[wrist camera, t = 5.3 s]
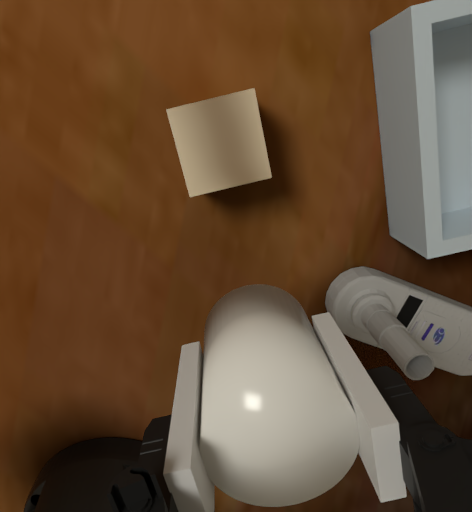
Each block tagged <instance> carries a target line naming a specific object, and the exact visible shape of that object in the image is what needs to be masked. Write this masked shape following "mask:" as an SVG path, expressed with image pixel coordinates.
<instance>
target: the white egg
mask: <svg viewBox="0 0 472 512" xmlns="http://www.w3.org/2000/svg"><path fill="white" fill-rule="evenodd" d="M359 446H360V438H359V432H358V425H357V418H356V415H355V412H354V410H353V408H352V406H351V404H350V402H349V400H348V398H347V396H346V394H345V392H344V390H343V388H342V386H341V384H340V382H339V380H338V378H337V376H336V374H335V372H334V370H333V368H332V366H331V364H330V362H329V360H328V358H327V356H326V354H325V352H324V350H323V348H322V346H321V344H320V342H319V340H318V338H317V336H316V334H315V332H314V330H313V328H312V326H311V324H310V322H309V320H308V317H307V315H306V313H305V311H304V309H303V308H302V306H301V305H300V303H299V302H298V301H297V300H296V299H295V298H294V297H293V296H292V295H290V294H289V293H287V292H286V291H284V290H282V289H280V288H277V287H274V286H269V285H260V284H259V285H248V286H244V287H240V288H238V289H235V290H233V291H231V292H229V293H228V294H226V295H225V296H223V297H222V298H221V299H220V300H219V301H218V302H217V303H216V304H215V305H214V307H213V308H212V309H211V311H210V313H209V315H208V317H207V320H206V324H205V331H204V353H203V376H202V399H201V422H200V444H199V449H200V453H201V457H202V460H203V463H204V466H205V469H206V472H207V475H208V477H209V479H210V480H211V481H212V482H213V483H214V484H215V485H216V486H217V487H218V488H219V489H220V490H221V491H223V492H224V493H226V494H227V495H229V496H230V497H232V498H234V499H236V500H239V501H242V502H245V503H248V504H252V505H257V506H265V507H279V506H288V505H294V504H298V503H302V502H305V501H308V500H310V499H313V498H315V497H317V496H319V495H321V494H323V493H324V492H326V491H328V490H329V489H331V488H332V487H333V486H334V485H336V484H337V483H338V482H339V481H340V480H341V479H342V478H343V477H344V476H345V475H346V473H347V472H348V471H349V470H350V468H351V466H352V465H353V463H354V461H355V459H356V456H357V454H358V450H359Z"/></svg>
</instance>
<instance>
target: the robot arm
mask: <svg viewBox="0 0 472 512" xmlns="http://www.w3.org/2000/svg"><path fill="white" fill-rule="evenodd" d="M312 321H313V326H314V332H315V334H316V336H317V338H318V340H319V342H320V344H321V346H322V348H323V350H324V352H325V354H326V356H327V358H328V360H329V362H330V364H331V366H332V368H333V370H334V372H335V374H336V376H337V378H338V380H339V382H340V384H341V386H342V388H343V390H344V392H345V394H346V396H347V398H348V400H349V402H350V404H351V406H352V408H353V410H354V412H355V415H356V418H357V425H358V432H359V438H360V446H359V450H358V453H359V455H360V457H361V459H362V461H363V464H364V466H365V468H366V470H367V473H368V475H369V477H370V479H371V482H372V484H373V486H374V488H375V491H376V493H377V495H378V497H379V500H380V502H386V501H391V500H395V499H400V498H405V497H407V495H406V486H407V488H408V490H409V491H410V493H411V495H412V497H413V503H414V512H472V440H470V439H463V438H460V437H456V435H455V434H454V433H453V432H451V431H450V430H448V429H447V428H445V427H442V426H440V425H438V424H437V423H436V422H435V420H434V419H433V418H432V416H431V415H430V414H429V413H428V411H427V410H426V409H425V407H424V406H423V405H422V403H421V402H420V401H419V399H418V398H417V397H416V395H415V394H414V393H413V392H412V390H411V389H410V387H409V386H408V385H407V384H406V382H405V381H404V380H403V378H402V377H401V376H400V374H399V373H398V372H396V371H394V370H393V369H391V368H389V367H388V366H383V367H378V368H374V369H369V370H365V368H364V367H363V365H362V364H361V362H360V360H359V359H358V357H357V356H356V354H355V353H354V351H353V349H352V348H351V346H350V345H349V343H348V341H347V340H346V338H345V337H344V335H343V333H342V332H341V330H340V329H339V327H338V326H337V324H336V322H335V321H334V319H333V318H332V316H331V314H330V313H329V312H327V313H322V314H318V315H314V316H312ZM202 376H203V353H202V350H201V346H200V343H199V342H195V343H190V344H186V345H182V349H181V356H180V362H179V369H178V376H177V383H176V390H175V396H174V403H173V410H172V415H168V416H164V417H159V418H155V419H152V421H151V422H150V424H149V425H148V427H147V428H146V430H145V432H144V437H143V441H142V442H141V441H137V440H132V439H126V438H99V439H92V440H88V441H84V442H80V443H77V444H75V445H72V446H70V447H68V448H66V449H64V450H62V451H61V452H59V453H58V454H56V455H55V456H54V457H53V458H52V459H51V460H49V461H48V463H47V464H46V465H45V466H44V467H43V469H42V470H41V472H40V474H39V475H38V477H37V479H36V481H35V483H34V485H33V487H32V489H31V491H30V493H29V495H28V498H27V501H26V504H25V508H24V512H214V483H213V482H212V481H211V480H210V479H209V477H208V475H207V472H206V469H205V466H204V463H203V460H202V457H201V453H200V449H199V444H200V422H201V399H202ZM405 484H406V486H405Z"/></svg>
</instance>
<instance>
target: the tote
mask: <svg viewBox="0 0 472 512" xmlns="http://www.w3.org/2000/svg"><path fill="white" fill-rule="evenodd" d="M370 37H371V47H372V58H373V68H374V78H375V88H376V98H377V109H378V119H379V129H380V139H381V149H382V160H383V170H384V180H385V190H386V200H387V211H388V221H389V231H390V236H392V237H393V238H395V239H396V240H398V241H400V242H401V243H403V244H404V245H406V246H408V247H409V248H411V249H412V250H414V251H415V252H417V253H419V254H420V255H422V256H423V257H425V258H426V259H431V258H435V257H440V256H444V255H449V254H453V253H458V252H462V251H467V250H471V249H472V0H434V1H430V2H426V3H422V4H418V5H414V6H410V7H409V8H407V9H405V10H404V11H402V12H401V13H399V14H397V15H396V16H394V17H393V18H391V19H389V20H388V21H386V22H385V23H383V24H381V25H380V26H378V27H377V28H375V29H373V30H372V31H370Z"/></svg>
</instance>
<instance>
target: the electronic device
mask: <svg viewBox="0 0 472 512" xmlns="http://www.w3.org/2000/svg"><path fill="white" fill-rule="evenodd" d="M325 305H326V309H327V312H329V313H330V314H331V316H332V318H333V319H334V321H335V322H336V324H337V326H338V327H339V329H340V330H341V332H342V333H343V334H345V335H347V336H348V337H350V338H353V339H356V340H358V341H361V342H364V343H367V344H370V345H372V346H376V347H379V348H382V349H384V350H385V351H387V352H388V354H389V355H390V356H391V357H392V359H393V360H394V361H395V362H396V364H397V365H398V366H399V367H400V369H401V370H402V371H403V372H404V374H405V375H406V376H407V377H408V378H409V379H412V380H421V379H424V378H426V377H427V376H429V375H430V373H431V372H432V371H433V370H434V367H437V368H439V369H442V370H445V371H448V372H451V373H454V374H457V375H462V376H466V375H472V307H470V306H468V305H465V304H462V303H460V302H457V301H455V300H452V299H450V298H447V297H445V296H442V295H440V294H437V293H435V292H432V291H429V290H427V289H424V288H422V287H419V286H417V285H414V284H412V283H409V282H406V281H404V280H401V279H399V278H396V277H394V276H391V275H389V274H386V273H384V272H381V271H378V270H376V269H373V268H368V267H363V266H362V267H356V268H351V269H349V270H347V271H345V272H343V273H341V274H340V275H339V276H338V277H337V278H336V279H335V280H334V281H333V282H332V283H331V285H330V287H329V289H328V291H327V294H326V300H325Z"/></svg>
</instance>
